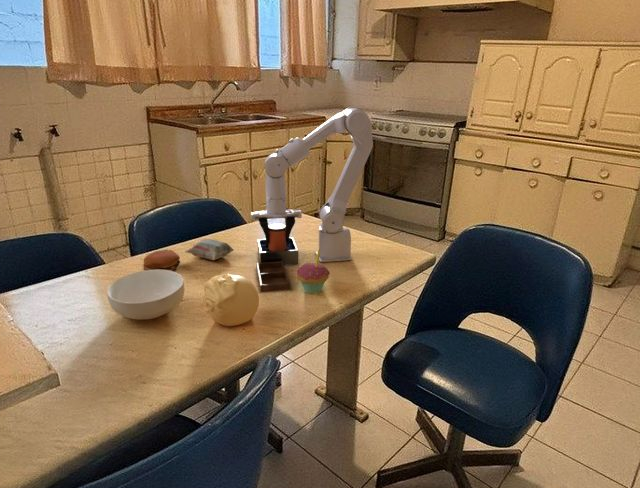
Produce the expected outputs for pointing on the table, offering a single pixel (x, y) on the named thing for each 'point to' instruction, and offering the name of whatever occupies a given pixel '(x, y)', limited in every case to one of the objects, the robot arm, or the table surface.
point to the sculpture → (231, 299)
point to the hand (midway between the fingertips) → (277, 241)
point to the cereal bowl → (146, 294)
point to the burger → (161, 260)
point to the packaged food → (210, 249)
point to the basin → (278, 253)
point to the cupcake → (313, 276)
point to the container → (277, 237)
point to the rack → (272, 276)
